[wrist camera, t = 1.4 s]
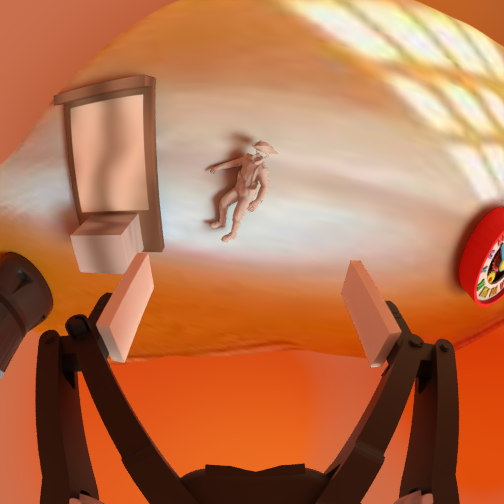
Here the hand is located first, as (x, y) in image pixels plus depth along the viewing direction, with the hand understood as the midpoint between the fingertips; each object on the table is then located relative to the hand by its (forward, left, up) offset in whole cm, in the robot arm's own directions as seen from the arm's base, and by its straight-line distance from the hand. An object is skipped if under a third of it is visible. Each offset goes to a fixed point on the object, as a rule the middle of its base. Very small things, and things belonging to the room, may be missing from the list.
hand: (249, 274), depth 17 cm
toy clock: (+50, -8, -18) cm, 54 cm away
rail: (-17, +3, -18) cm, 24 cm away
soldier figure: (0, 0, -18) cm, 18 cm away
